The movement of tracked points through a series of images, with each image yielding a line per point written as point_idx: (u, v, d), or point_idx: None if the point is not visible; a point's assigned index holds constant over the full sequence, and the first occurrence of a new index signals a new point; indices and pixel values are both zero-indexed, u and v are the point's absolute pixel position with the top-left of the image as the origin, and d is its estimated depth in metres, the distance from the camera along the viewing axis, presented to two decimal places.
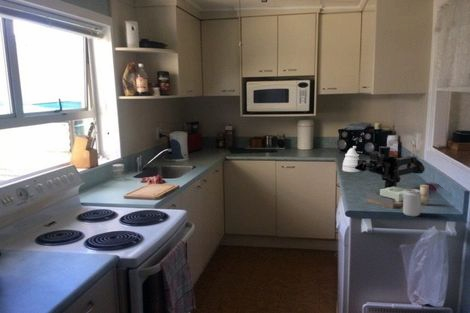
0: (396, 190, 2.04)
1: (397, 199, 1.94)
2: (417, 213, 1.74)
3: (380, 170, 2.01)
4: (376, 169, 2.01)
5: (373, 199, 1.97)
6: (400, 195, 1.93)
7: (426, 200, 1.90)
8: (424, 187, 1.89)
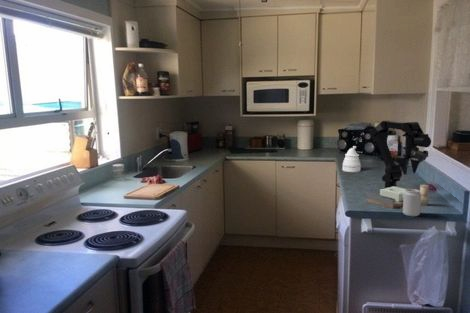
0: (396, 190, 2.04)
1: (397, 199, 1.94)
2: (417, 213, 1.74)
3: None
4: None
5: (373, 199, 1.97)
6: (400, 195, 1.93)
7: (426, 200, 1.90)
8: (424, 187, 1.89)
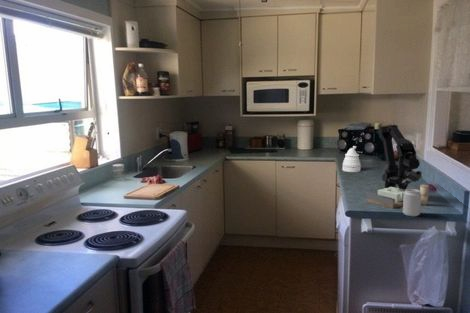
0: (394, 191, 2.03)
1: (395, 200, 1.93)
2: (417, 213, 1.74)
3: None
4: None
5: (373, 199, 1.97)
6: (398, 196, 1.93)
7: (426, 200, 1.90)
8: (424, 187, 1.89)
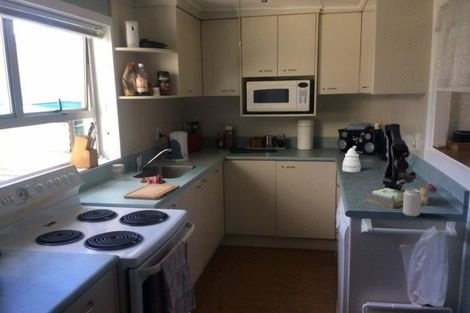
0: (389, 192, 2.01)
1: None
2: (417, 213, 1.74)
3: None
4: None
5: (373, 199, 1.97)
6: (393, 197, 1.90)
7: (426, 200, 1.90)
8: (424, 187, 1.89)
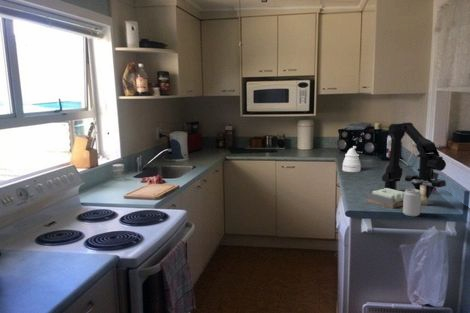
0: (389, 192, 2.01)
1: None
2: (417, 213, 1.74)
3: None
4: None
5: (373, 199, 1.97)
6: (393, 197, 1.90)
7: (426, 200, 1.90)
8: (424, 187, 1.89)
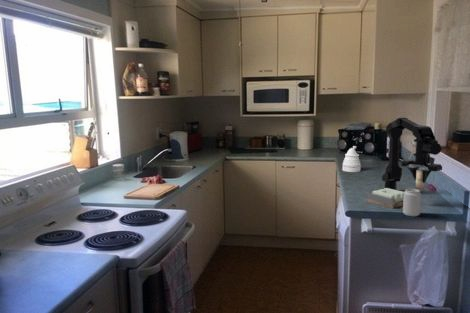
0: (389, 192, 2.01)
1: None
2: (417, 213, 1.74)
3: None
4: None
5: (373, 199, 1.97)
6: (393, 197, 1.90)
7: (422, 185, 1.90)
8: (420, 172, 1.89)
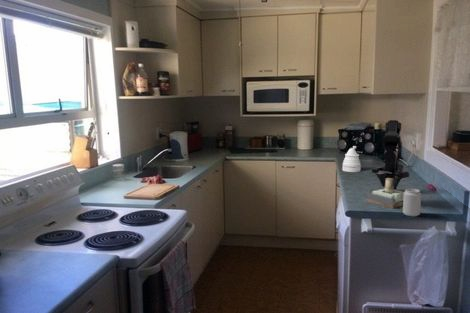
0: None
1: None
2: (417, 213, 1.74)
3: None
4: None
5: (373, 199, 1.97)
6: (393, 197, 1.90)
7: (391, 193, 1.96)
8: (389, 180, 1.95)
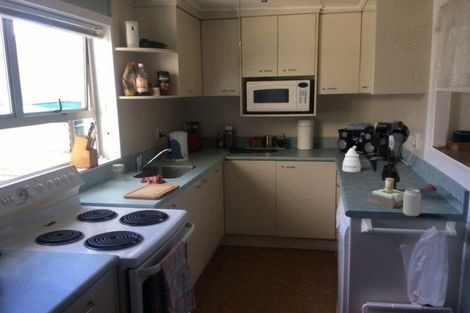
0: None
1: None
2: (417, 213, 1.74)
3: None
4: None
5: (373, 199, 1.97)
6: (393, 197, 1.90)
7: (391, 193, 1.96)
8: (389, 180, 1.95)
